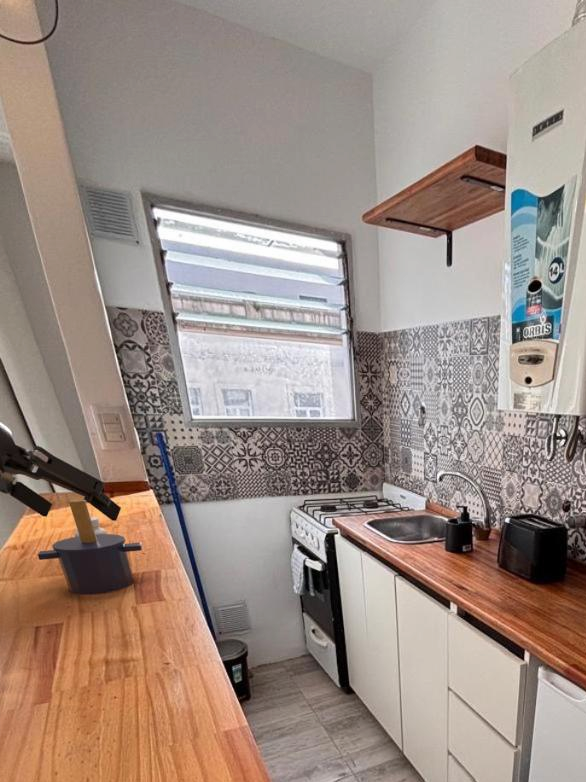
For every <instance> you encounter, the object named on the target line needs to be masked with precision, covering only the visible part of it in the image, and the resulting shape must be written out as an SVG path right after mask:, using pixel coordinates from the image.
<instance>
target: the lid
mask: <svg viewBox="0 0 586 782" xmlns="http://www.w3.org/2000/svg"><path fill="white" fill-rule="evenodd" d="M68 503H69V504H68V505H69V507H70V510H71V513H72V517H73V520H74V523H76V524H75V527H76V526H77V527H76V530H78V533H79V536H78V537H75V536H73V537H69V538H68V537H67V538H64V539H61V540H58V541H56V542H54V543H52V545H51V547H52V550H55V551H58V552H64V553H83V552H93V551H100V550H106V549H110V548H114V547H117V546H120V545H122V544H126V538H125V536H123V535H119V534H110V533H106V534H95V531H94V528H93V524H92V521H91V518H90V517H91V515H90V511H89V508H88V505H87V502H86V501H85V500H84V498H75V499H70V500H68Z"/></svg>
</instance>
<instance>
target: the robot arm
mask: <svg viewBox="0 0 586 782" xmlns="http://www.w3.org/2000/svg"><path fill="white" fill-rule="evenodd" d="M35 467H36V468H37V469H36V471H35V472H33V470H34V468H35ZM14 475H15V476H17V475H21V476H25V477H29V478H30V479H33V480H35V481H39V480H43V481H45V482H48V483H50V484H53V485H55V486H57V487H60V488H63V489H66V490H67V491H70V492H73V493H74V494H77V495H79V496H83V497H84V498H83V499H84V500H85V501H86V503H88V504H89V505H91V506H92V507H93V508H95V509H96V510H98V511H99V512H100V513H102V514H103V515H104V516H106V517H107V518H108V519H109V520H111V521H112V522H113V521H114V522H117V520H118V517H119V515H120V512H121V509H122V507H121V506H120V505H118V504H117V503H116V502H114V500H112V499H111V498H110V497H109V496H107V494H105V493H104V492H103V489H104V486H105V482H103V481H102V480H100V479H98V478H96V477H94V476H93V475H91V474H89V473H87V472H85V471H83V470H82V469H79V468H78V467H75V466H74V465H72V464H70V463H69V462H66V461H65V460H63V459H60V458H59V457H57V456H55V455H53V454H52V453H50V452H49V451H48V450H46V449H45V448H43V447H42V446H39V445H35V446H34V447H33V450H28V449H26V448H24V447H23V446H21V445H19V444H17V443H16V441H15V439H14V436H13V433H12V431H11V429H10V428H9V427H8V426H6V425H5V424H4V423H3V422H1V421H0V493H3V494H5V495H9V496H11V497H12V498H14V499H15V500H17V501H18V502H20V503H22V504H23V505H25V506H26V507H28V508H29V509H31V510H32V511H34V512H36V513H37V514H39V515H40V516H41V517H48V515H49V513H50V510H51V508H52V505H53V503H52V502H51V501H50V500H48V499H46V498H45V497H43V496H41V495H40V494H39V493H38V492H36V491H34V490H33V489H31V488H30V487H29V486H27V485H25V484H24V483H23V482H21V481H15V480H16V477H14ZM14 483H15V484H14Z"/></svg>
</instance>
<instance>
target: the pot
mask: <svg viewBox="0 0 586 782" xmlns="http://www.w3.org/2000/svg"><path fill="white" fill-rule="evenodd" d="M142 550H143V545H142V542H140V541H139V542H131V543H124V544H122V545H120V546H117V547H114V548H110V549H106V550H100V551H93V552H83V553H64V552H58V551H55V550H54V549H50V550H48V549H47V550H40V551H39V552H38V553H37V557H38V560H39V561H42V560H44V561H45V560H52V559H53V560H54V559H58V561H59V564H60V567H61V570H62V573H63V576H64V579H65V582H66V584H67V588H68V590H69V591H70V592H71V594H77V595H97V594H106V593H111V592H115V591H119V590H122V589H125V588H128V587H130V586H131V585H133V584H134V583H135V577H134V573H133V570H132V567H131V564H130V560H129V556H128V553H129V552H139V551H142Z"/></svg>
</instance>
